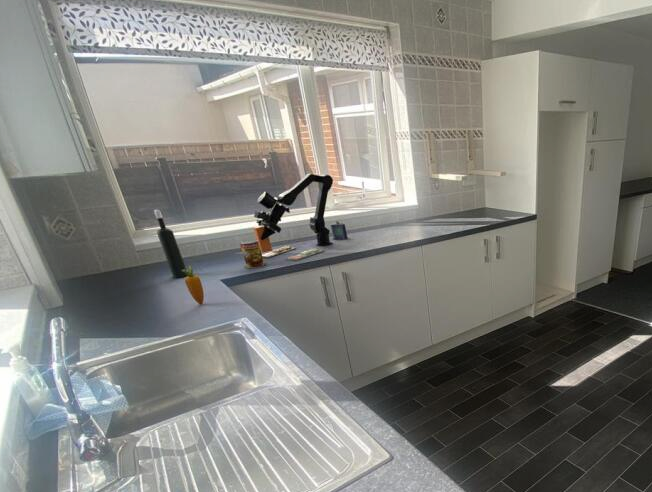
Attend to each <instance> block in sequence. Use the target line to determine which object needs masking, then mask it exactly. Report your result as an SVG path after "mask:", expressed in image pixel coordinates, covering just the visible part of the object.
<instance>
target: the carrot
mask: <svg viewBox="0 0 652 492" xmlns="http://www.w3.org/2000/svg"><path fill="white" fill-rule="evenodd" d="M188 268H189V270H187V269H186V270H187V271H186V270H185V269H184V270H182V271H183V272H185V273H186V274H187V275H188V276H186V277H184V282H185V285H186V287H187V290H188V292H189V294H190V295H191V297H192V298H193V300H194V301H195V302H196V303H198V305H199V306H200V305H201V306H202V305H203V304H204V300H205V299H204V298H205V295H204V289H203V285H202V281H201V278H200V276H199V275H195V274H194V268H193V266H192V265H188Z"/></svg>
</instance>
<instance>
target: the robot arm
mask: <svg viewBox="0 0 652 492" xmlns="http://www.w3.org/2000/svg"><path fill="white" fill-rule="evenodd" d="M312 183H317V187H318V194H317V200H316V205H315V213H314V216H313V217H309V223H308V225H309V229H310V230H311V231H313V232H314V233H315V234H316V244H315V245H316V246H323V247H324V246H328V245H332V244H333V242H332V241H331V239H330V232H331V231H330V229H329V228H327V227H326V222H325V218H324V217H325V212H326V205H327V199H328V194H329V191H330V190H331V188H332V187H333V183H334V179H333V177H332V176H331V175H329V174H313V173H306V174H305V176H304V177H302V178H301V179H300V180H299V181H298V182H296V184H294V185H293V186H292V187H291V188H290V189H288V190H285V191H284V192H282V193H280V194H279V195H278V196H275V197H273V196H272V195H271V194H270V193H269V192H267V191H263V193H262V194H261V195H260V196H258V198H257V200H256V201H257V203H258V204H259V205H261V206H262V207H264V208H265V209H267V210H269V209H270V211H269V212H267V211H263V210H261V211H256V210H255V211H254V214H253V218H256V219H257V220H256V221H255V223H257V226H261V225H264V229H265V230H264V232H263V234H262V236H261V240H264V239H266V238H267V237H269V238H270V237H271V236H273V235H275V234H276V233H278V234H280V233H281V231H282V228H281V227H280V226H279V225H278V224H279V222H282V218H283V216H284V215H285V213H288V214H290V213H291V211H290V207H289V206H292V205H293V204H294V203H295V201H296V199H297V197H298V196H299V195H300V194H301V193H302V192H303V191H304V190H305V189H306V188H307V187H309V186H310V185H311V184H312Z"/></svg>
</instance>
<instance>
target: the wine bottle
mask: <svg viewBox="0 0 652 492" xmlns="http://www.w3.org/2000/svg"><path fill="white" fill-rule="evenodd" d="M153 213H154V215H155V218H156V220H157V222H158V225H159V228H158V229H156V234H157V237H158V241H159V243H160V246H161V248H162V251H163V253H164V256H165V258H166V261H167V264H168V266H169V269H170V272H171V275H172V277H173V279H174V278H175V279H181V278H186V277H188V275H187V274H186V273H185V272H183V271H182V270H184V269H185V270H186V271H188V269H187V268H186V265H185V261H184V258H183V256H182V253H181V250H180V247H179V244H178V242H177V239H176V237H175V234H174V232H173V231H174V230H173V229H172V228H170V227H166V224H165V221H164V219H163V217H164V216H163V215H162V212H161V210H160V209H153Z"/></svg>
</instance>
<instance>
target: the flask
mask: <svg viewBox="0 0 652 492" xmlns="http://www.w3.org/2000/svg"><path fill="white" fill-rule="evenodd" d="M329 225H330V226H329V227H330V229H331V235H332V239H333V240H348V234H347V229H346V224H345V223H343V222H339V220H336V221H335V223H330V224H329Z"/></svg>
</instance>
